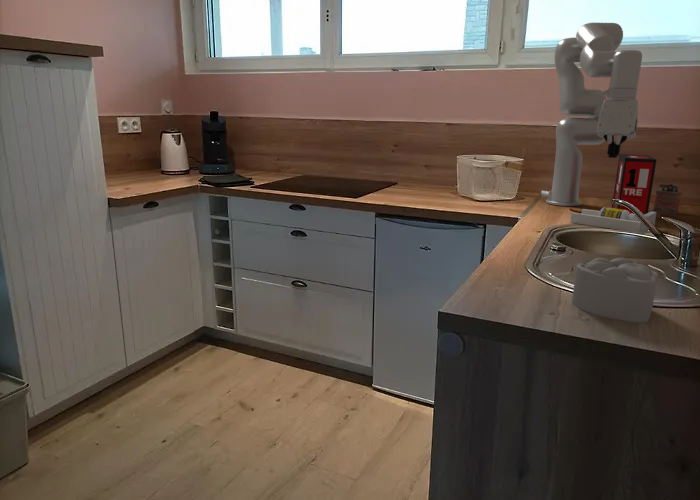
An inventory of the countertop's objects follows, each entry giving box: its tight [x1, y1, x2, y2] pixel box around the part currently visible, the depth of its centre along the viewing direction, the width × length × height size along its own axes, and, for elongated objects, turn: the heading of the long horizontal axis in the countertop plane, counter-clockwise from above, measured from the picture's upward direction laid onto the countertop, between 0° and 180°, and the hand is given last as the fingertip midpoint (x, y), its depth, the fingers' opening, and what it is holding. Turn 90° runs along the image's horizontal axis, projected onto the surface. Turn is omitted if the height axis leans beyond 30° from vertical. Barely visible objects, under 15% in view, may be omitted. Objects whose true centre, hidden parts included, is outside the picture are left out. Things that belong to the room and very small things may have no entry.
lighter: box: [652, 183, 683, 215], centre depth 191 cm, size 8×3×10 cm, turn 58°
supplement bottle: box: [599, 206, 637, 221], centre depth 166 cm, size 5×5×10 cm
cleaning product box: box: [611, 153, 657, 215], centre depth 181 cm, size 16×9×20 cm, turn 160°
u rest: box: [569, 208, 658, 234], centre depth 168 cm, size 22×10×5 cm, turn 48°
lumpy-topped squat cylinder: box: [571, 257, 659, 323], centre depth 97 cm, size 10×13×9 cm
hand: (612, 157), depth 165 cm, fingers closed
